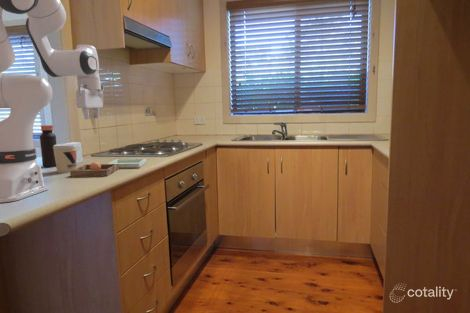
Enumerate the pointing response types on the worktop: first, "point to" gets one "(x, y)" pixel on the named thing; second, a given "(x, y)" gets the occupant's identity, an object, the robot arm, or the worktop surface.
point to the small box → (78, 151)
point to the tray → (129, 163)
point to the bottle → (48, 146)
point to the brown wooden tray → (87, 172)
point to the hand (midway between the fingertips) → (91, 118)
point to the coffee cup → (65, 157)
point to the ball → (95, 166)
